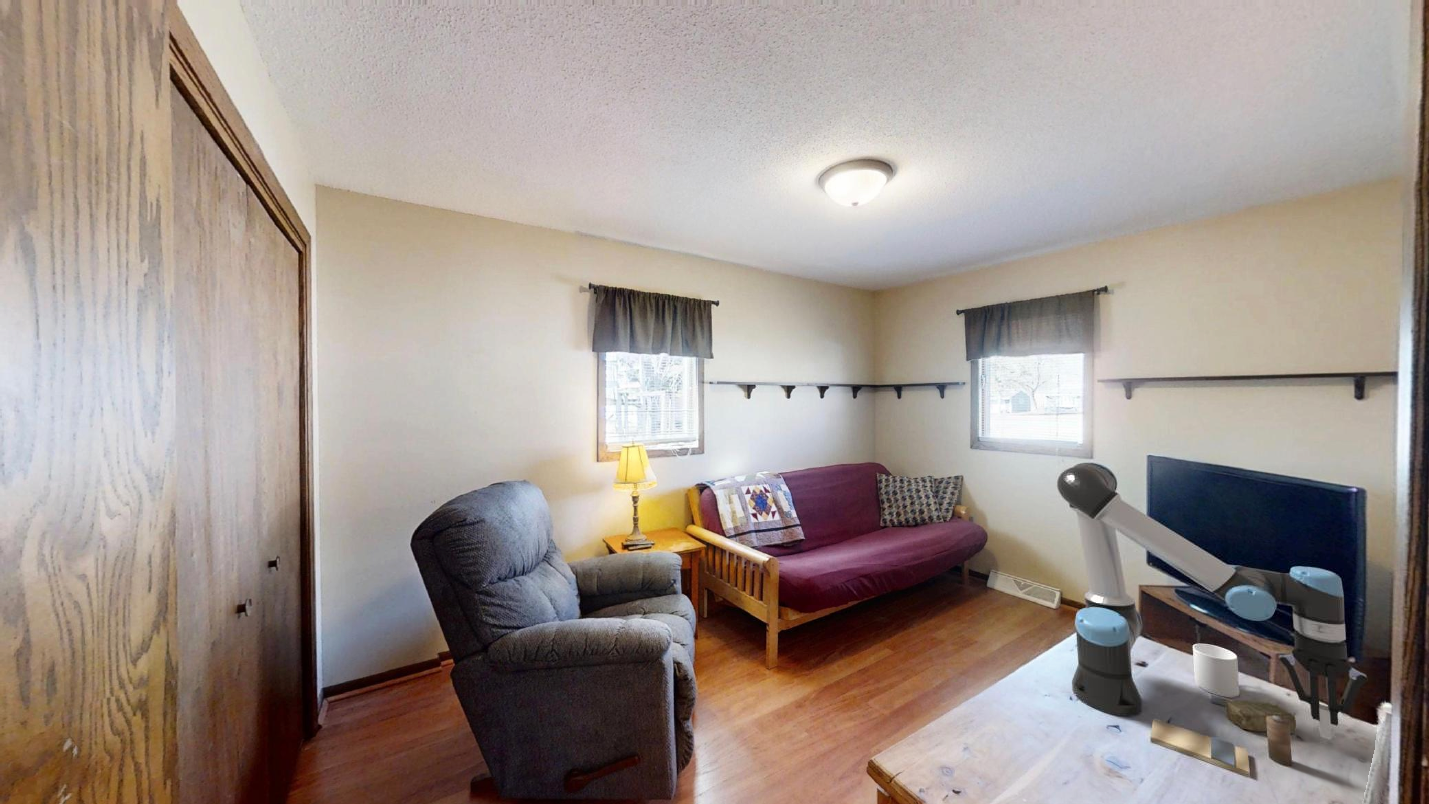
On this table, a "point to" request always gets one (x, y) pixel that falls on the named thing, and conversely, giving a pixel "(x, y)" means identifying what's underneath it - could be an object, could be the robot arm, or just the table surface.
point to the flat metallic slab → (1202, 744)
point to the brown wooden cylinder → (1279, 740)
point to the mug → (1216, 670)
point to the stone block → (1256, 715)
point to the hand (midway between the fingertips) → (1325, 735)
